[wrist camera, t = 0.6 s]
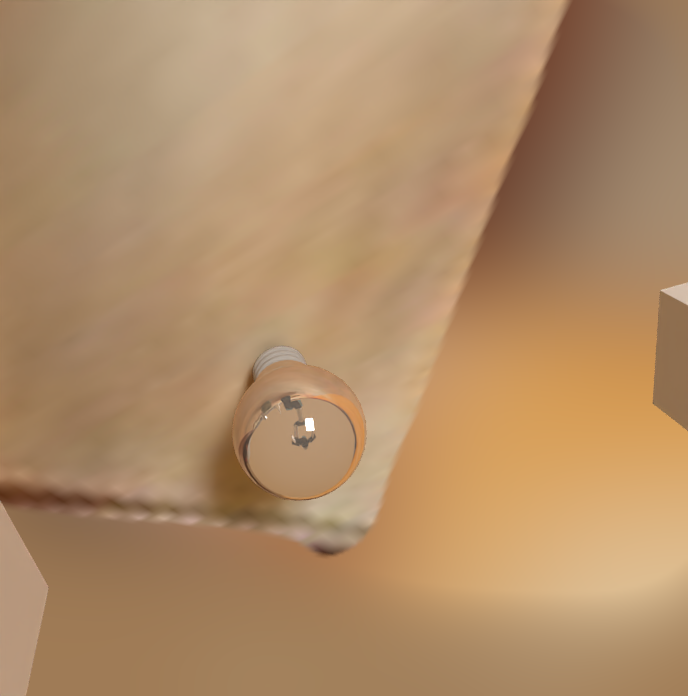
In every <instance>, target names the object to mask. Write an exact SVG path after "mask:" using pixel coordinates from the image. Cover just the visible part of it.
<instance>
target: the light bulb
mask: <svg viewBox="0 0 688 696" xmlns="http://www.w3.org/2000/svg"><path fill="white" fill-rule="evenodd" d="M253 379H254V383H253V384H252V385H251V386H250V387H249V388H248V389H247V391H246V392H245V393H244V395H243V397H242V398H241V400H240V402H239V404H238V406H237V409H236V412H235V415H234V418H233V428H232V440H233V447H234V451H235V454H236V457H237V459H238V461H239V464H240V466H241V468H242V469H243V470H244V472H245V473H246V475H247V476H248V477H249V478H250V480H251V481H252V482H253V483H254V484H256V485H257V486H258V487H259V488H261V489H262V490H264V491H266V492H268V493H270V494H272V495H273V496H275V497H279V498H282V499H286V500H294V501H300V500H311V499H316V498H319V497H322V496H325V495H327V494H329V493H331V492H333V491H334V490H336V489H337V488H339V487H340V486H341V485H342V484H344V483H345V482H346V481H347V480H348V479H349V478H350V477H351V476H352V475H353V473H354V471H355V470H356V468H357V467H358V465H359V463H360V460H361V458H362V455H363V453H364V450H365V444H366V434H367V431H366V420H365V416H364V413H363V410H362V407H361V404H360V402H359V400H358V398H357V397H356V395H355V393H354V392H353V391H352V390H351V388H350V387H349V386H348V385H347V384H346V383H345V382H344V381H343V380H342V379H340V378H339V377H337V376H336V375H334V374H333V373H331V372H329V371H327V370H325V369H322V368H320V367H316V366H311V365H307V364H306V362H305V360H304V358H303V356H302V355H301V353H300V352H299V351H297V350H296V349H294V348H292V347H288V346H277V347H273V348H270V349H268V350H266V351H265V352H263V353H262V354H261V355H260V356H259V357H258V359H257V360H256V362H255V364H254V367H253Z"/></svg>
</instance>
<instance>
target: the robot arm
mask: <svg viewBox="0 0 688 696" xmlns="http://www.w3.org/2000/svg"><path fill="white" fill-rule="evenodd" d="M659 298H660V299H659V313H658V329H657V345H656V361H655V377H654V393H653V404H654V405H655V406H657V407H658V408H659V409H661V410H662V411H663V412H665V413H666V414H667V415H668V416H670V417H671V418H672V419H673V420H675V421H676V422H677V423H679V424H680V425H681V426H683V427H684V428H685V429H686V430H688V283H684V284H681V285H677V286H674V287H670V288H666V289H663V290H660V297H659ZM48 588H49V587H48V586H47V584H46V582H45V580H44V578H43V577H42V575H41V573H40V571H39V569H38V568H37V566H36V564H35V562H34V561H33V559H32V557H31V555H30V554H29V552H28V550H27V548H26V546H25V544H24V543H23V541H22V539H21V537H20V535H19V534H18V532H17V530H16V528H15V526H14V525H13V523H12V521H11V519H10V518H9V516H8V514H7V512H6V510H5V508H4V507H3V505H2V503H1V501H0V696H26V693H27V688H28V684H29V679H30V674H31V670H32V665H33V660H34V654H35V650H36V646H37V641H38V635H39V631H40V627H41V622H42V617H43V612H44V607H45V602H46V598H47V593H48Z"/></svg>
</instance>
